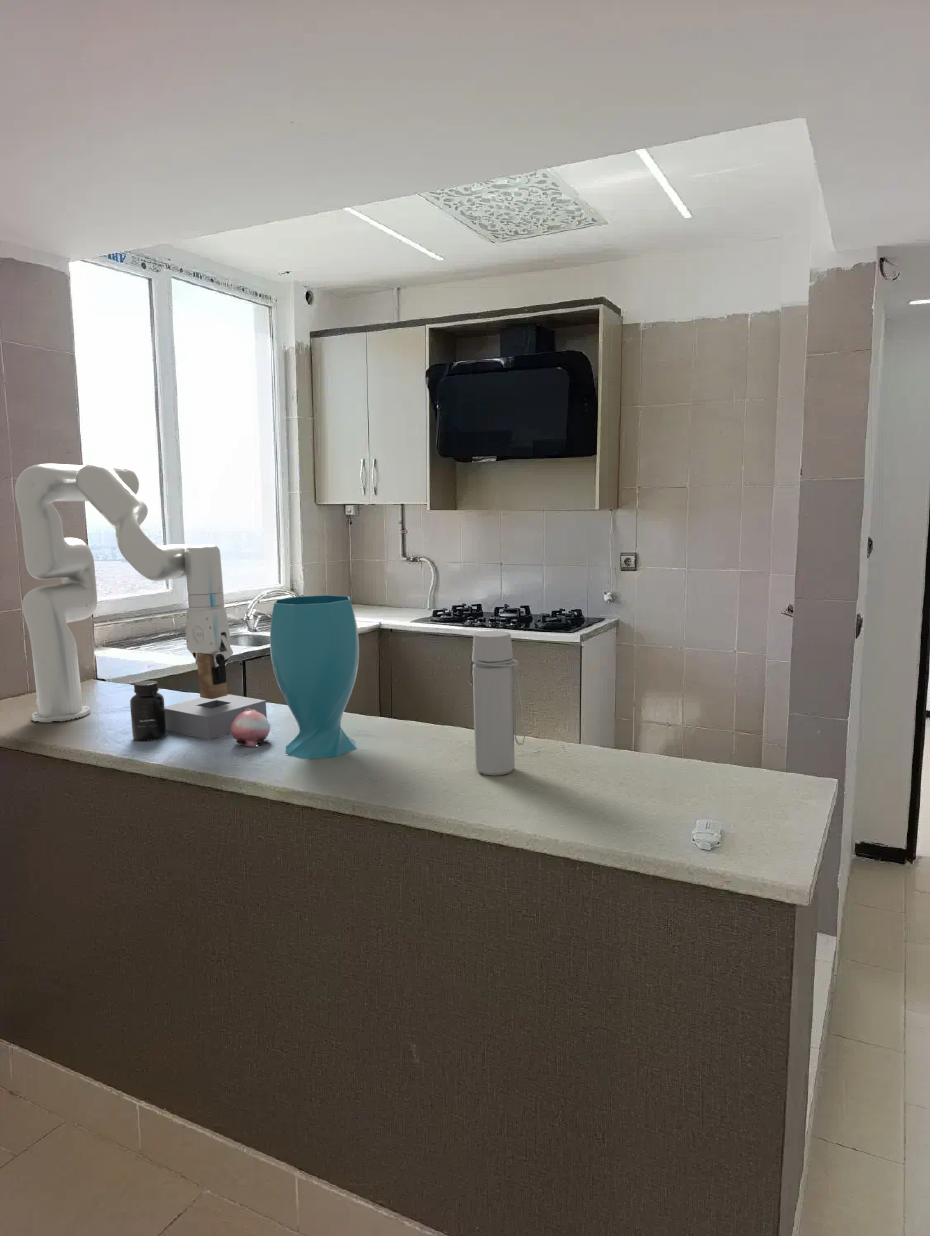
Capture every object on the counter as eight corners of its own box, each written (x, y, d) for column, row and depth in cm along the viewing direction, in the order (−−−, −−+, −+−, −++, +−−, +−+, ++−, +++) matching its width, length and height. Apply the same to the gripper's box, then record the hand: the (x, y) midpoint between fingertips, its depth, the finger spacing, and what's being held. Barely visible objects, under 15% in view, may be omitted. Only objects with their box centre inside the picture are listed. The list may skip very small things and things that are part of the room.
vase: (381, 742, 164) (374, 596, 160) (321, 766, 150) (312, 607, 146) (320, 731, 174) (312, 593, 170) (258, 752, 160) (248, 603, 156)
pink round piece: (257, 740, 172) (267, 708, 171) (271, 752, 165) (281, 719, 165) (222, 735, 167) (231, 702, 167) (234, 748, 161) (244, 713, 160)
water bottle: (472, 777, 142) (467, 637, 138) (477, 763, 149) (473, 630, 146) (524, 778, 140) (521, 637, 137) (527, 764, 148) (524, 630, 145)
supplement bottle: (144, 743, 169) (139, 687, 167) (126, 738, 173) (121, 684, 171) (173, 735, 174) (168, 681, 172) (155, 731, 178) (151, 678, 176)
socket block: (162, 729, 179) (160, 707, 178) (221, 713, 192) (219, 692, 191) (208, 739, 170) (207, 716, 169) (267, 721, 183) (265, 700, 182)
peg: (200, 697, 179) (196, 653, 178) (215, 693, 183) (212, 650, 181) (212, 699, 177) (208, 654, 176) (227, 695, 180) (224, 651, 179)
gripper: (168, 601, 179) (175, 682, 181) (216, 604, 169) (223, 689, 172) (196, 597, 185) (202, 675, 187) (245, 600, 175) (251, 682, 178)
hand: (212, 681), depth 179 cm, fingers closed on peg, 4 cm apart
